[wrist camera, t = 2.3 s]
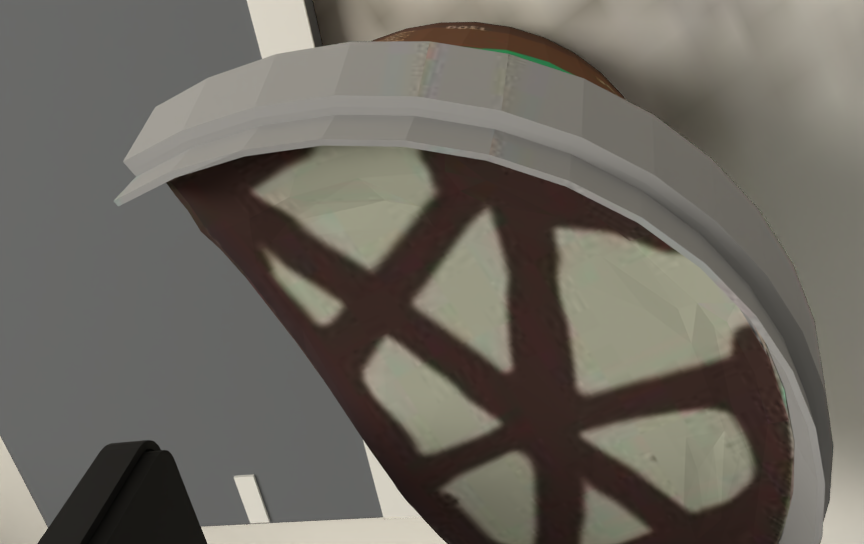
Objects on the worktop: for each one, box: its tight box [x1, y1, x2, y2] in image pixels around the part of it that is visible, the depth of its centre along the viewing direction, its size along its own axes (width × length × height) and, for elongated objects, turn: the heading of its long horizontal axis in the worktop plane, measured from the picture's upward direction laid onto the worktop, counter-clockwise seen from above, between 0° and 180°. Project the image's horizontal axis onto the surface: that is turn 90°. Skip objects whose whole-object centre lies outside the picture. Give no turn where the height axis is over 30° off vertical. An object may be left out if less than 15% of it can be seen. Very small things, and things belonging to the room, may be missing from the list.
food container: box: [114, 22, 833, 544], centre depth 14 cm, size 12×6×10 cm, turn 32°
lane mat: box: [0, 0, 421, 528], centre depth 21 cm, size 12×18×1 cm, turn 10°
